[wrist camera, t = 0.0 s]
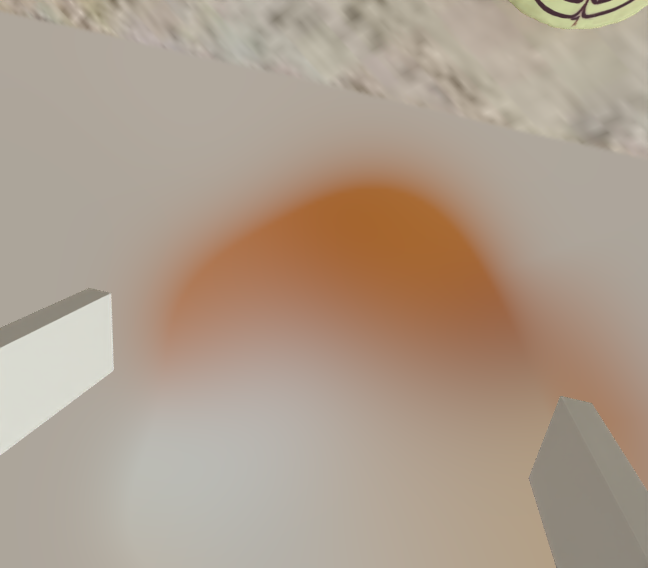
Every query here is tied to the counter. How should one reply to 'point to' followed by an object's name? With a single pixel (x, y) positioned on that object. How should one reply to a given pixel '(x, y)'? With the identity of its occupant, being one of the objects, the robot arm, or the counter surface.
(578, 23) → the decorated donut
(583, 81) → the counter surface
